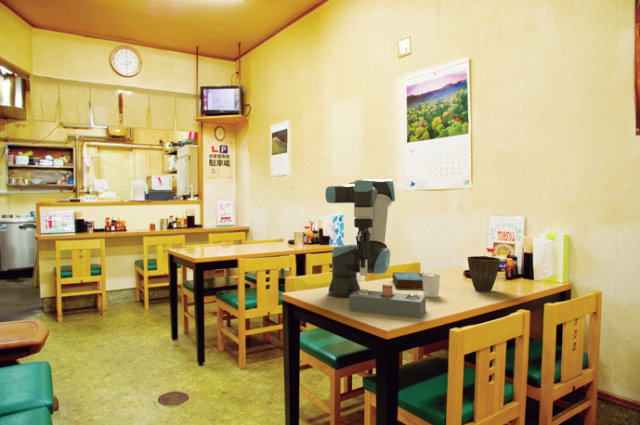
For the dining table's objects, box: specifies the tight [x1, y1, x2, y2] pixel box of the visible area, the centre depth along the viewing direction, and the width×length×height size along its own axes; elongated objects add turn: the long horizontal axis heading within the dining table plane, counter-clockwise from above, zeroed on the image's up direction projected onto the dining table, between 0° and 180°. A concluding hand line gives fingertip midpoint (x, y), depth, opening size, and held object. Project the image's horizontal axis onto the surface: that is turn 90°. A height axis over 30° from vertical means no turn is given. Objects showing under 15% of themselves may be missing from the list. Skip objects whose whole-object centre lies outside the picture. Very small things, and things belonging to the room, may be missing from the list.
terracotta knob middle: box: [381, 284, 394, 297], centre depth 160 cm, size 4×4×6 cm
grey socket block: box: [348, 290, 427, 319], centre depth 160 cm, size 28×12×6 cm, turn 66°
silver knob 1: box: [359, 288, 369, 295], centre depth 164 cm, size 4×4×6 cm
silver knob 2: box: [406, 293, 419, 300], centre depth 156 cm, size 4×4×6 cm
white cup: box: [422, 272, 441, 298], centre depth 186 cm, size 8×8×10 cm
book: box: [391, 271, 424, 290], centre depth 213 cm, size 23×18×5 cm
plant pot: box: [467, 255, 501, 293], centre depth 197 cm, size 15×15×16 cm
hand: (363, 275), depth 164 cm, fingers closed
